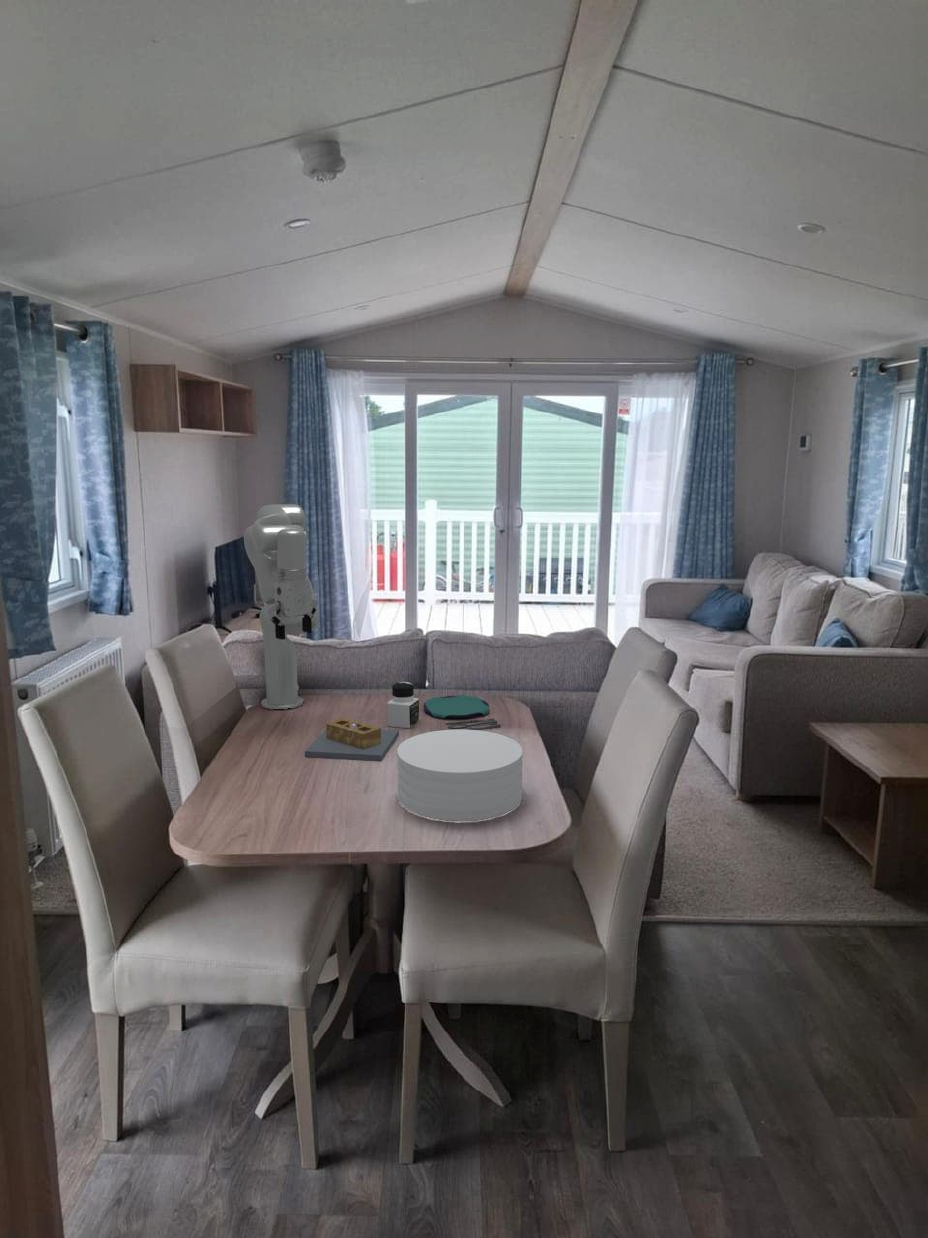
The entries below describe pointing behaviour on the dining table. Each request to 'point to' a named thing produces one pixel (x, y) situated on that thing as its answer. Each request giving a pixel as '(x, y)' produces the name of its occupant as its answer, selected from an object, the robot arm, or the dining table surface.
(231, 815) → the dining table surface
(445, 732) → the plate stack
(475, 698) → the cutlery set
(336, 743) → the slate board
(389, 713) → the medicine bottle
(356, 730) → the tan slatted rectangular block
